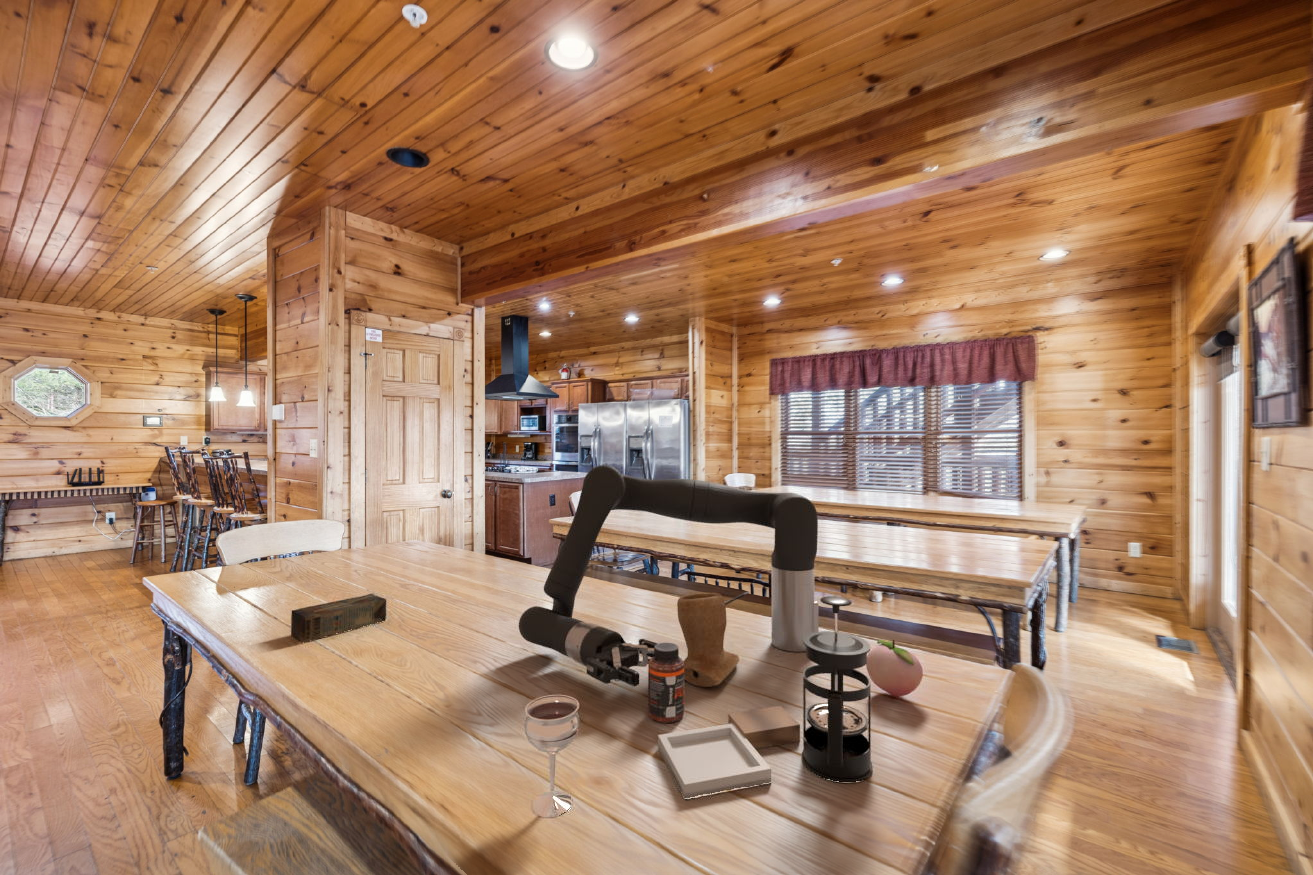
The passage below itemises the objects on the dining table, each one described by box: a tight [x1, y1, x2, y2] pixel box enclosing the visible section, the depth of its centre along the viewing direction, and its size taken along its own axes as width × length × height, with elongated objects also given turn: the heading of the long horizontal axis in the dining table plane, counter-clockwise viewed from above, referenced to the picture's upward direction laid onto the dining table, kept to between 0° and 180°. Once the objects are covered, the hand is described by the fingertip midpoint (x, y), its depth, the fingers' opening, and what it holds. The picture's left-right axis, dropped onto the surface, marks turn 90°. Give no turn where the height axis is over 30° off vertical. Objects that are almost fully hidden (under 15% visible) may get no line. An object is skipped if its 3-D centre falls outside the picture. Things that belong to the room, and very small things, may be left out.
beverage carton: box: [290, 592, 387, 643], centre depth 132 cm, size 8×19×7 cm, turn 143°
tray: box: [657, 723, 772, 799], centre depth 76 cm, size 12×12×2 cm
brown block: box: [727, 705, 801, 750], centre depth 84 cm, size 9×6×2 cm, turn 106°
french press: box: [801, 595, 874, 782], centre depth 76 cm, size 12×9×23 cm
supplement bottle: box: [647, 642, 685, 724], centre depth 90 cm, size 6×6×11 cm
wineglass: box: [523, 694, 581, 818], centre depth 68 cm, size 7×7×12 cm
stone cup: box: [676, 592, 740, 688], centre depth 107 cm, size 15×12×15 cm
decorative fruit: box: [865, 639, 924, 698], centre depth 96 cm, size 9×8×10 cm
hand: (656, 671), depth 92 cm, fingers open, 8 cm apart
